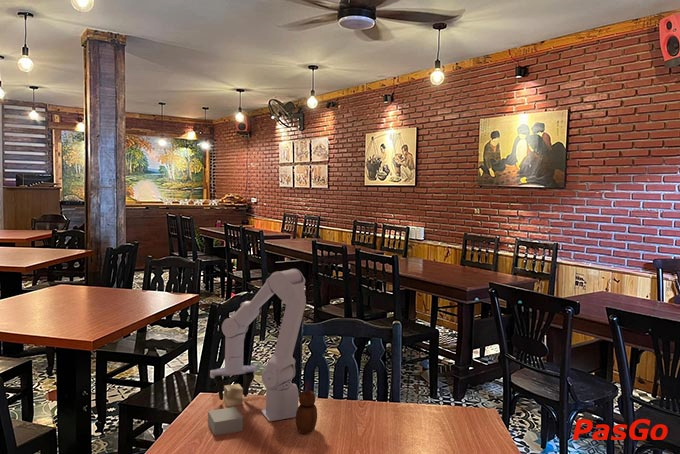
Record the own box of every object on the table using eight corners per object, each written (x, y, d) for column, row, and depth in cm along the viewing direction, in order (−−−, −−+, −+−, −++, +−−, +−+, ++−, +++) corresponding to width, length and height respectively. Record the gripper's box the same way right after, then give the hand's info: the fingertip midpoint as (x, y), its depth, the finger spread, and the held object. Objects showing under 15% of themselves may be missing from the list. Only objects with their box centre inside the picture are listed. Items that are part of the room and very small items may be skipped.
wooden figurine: (313, 437, 140) (314, 383, 140) (292, 434, 141) (294, 381, 141) (318, 426, 147) (320, 375, 146) (299, 424, 148) (301, 373, 147)
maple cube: (238, 398, 165) (238, 383, 165) (242, 404, 161) (242, 388, 161) (223, 401, 163) (224, 385, 163) (227, 406, 159) (227, 390, 159)
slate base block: (235, 420, 150) (235, 406, 150) (242, 431, 143) (243, 417, 143) (207, 424, 146) (208, 410, 146) (214, 436, 139) (214, 422, 139)
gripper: (252, 349, 168) (251, 389, 169) (208, 353, 162) (207, 395, 163) (259, 355, 162) (258, 397, 163) (213, 360, 156) (212, 404, 156)
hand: (233, 397), depth 162 cm, fingers open, 7 cm apart
